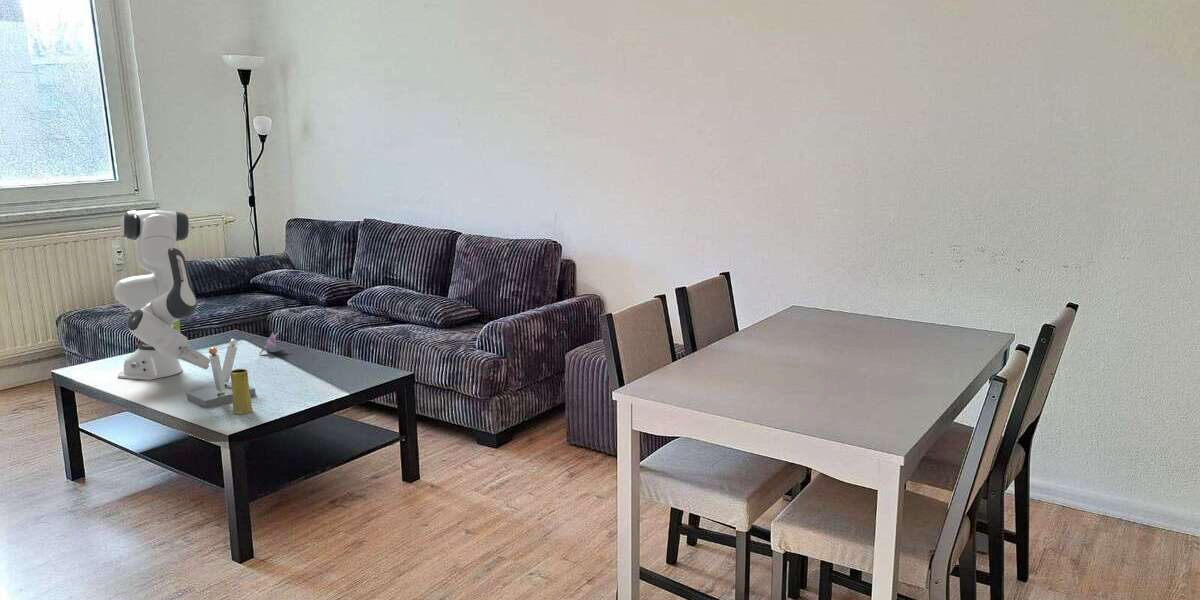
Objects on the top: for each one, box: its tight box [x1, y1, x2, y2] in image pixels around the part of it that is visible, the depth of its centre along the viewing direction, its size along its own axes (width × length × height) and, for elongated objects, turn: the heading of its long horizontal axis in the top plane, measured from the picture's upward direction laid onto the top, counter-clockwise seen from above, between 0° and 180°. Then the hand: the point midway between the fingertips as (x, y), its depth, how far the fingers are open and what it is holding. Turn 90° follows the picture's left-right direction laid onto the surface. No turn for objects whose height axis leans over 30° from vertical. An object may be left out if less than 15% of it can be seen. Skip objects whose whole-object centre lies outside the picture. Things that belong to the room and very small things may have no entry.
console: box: [186, 381, 257, 409], centre depth 305 cm, size 18×14×3 cm
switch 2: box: [221, 338, 238, 384], centre depth 311 cm, size 3×4×16 cm
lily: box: [258, 331, 282, 356], centre depth 362 cm, size 12×12×10 cm
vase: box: [230, 368, 253, 415], centre depth 289 cm, size 6×6×14 cm
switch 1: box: [208, 347, 225, 392], centre depth 298 cm, size 3×4×16 cm
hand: (206, 367), depth 295 cm, fingers closed
